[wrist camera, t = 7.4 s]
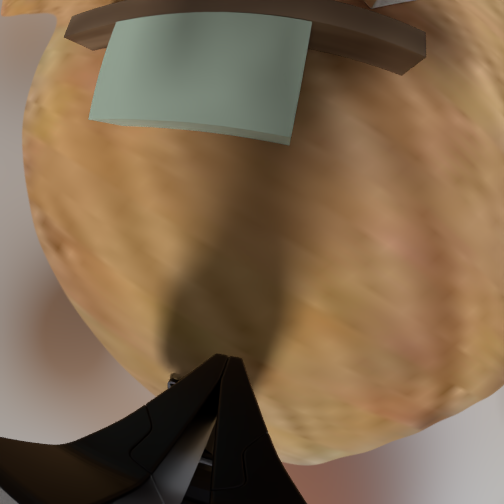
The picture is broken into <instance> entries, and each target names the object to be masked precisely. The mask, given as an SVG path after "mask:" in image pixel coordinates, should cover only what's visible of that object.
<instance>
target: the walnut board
mask: <svg viewBox="0 0 504 504" xmlns="http://www.w3.org/2000/svg"><path fill="white" fill-rule="evenodd" d="M192 12H236V13H253V14H264V15H273V16H281V17H288V18H294V19H300V20H306V21H311V22H312V26H311V32H310V38H309V44H308V49H313V50H317V51H322V52H327V53H331V54H335V55H339V56H343V57H347V58H350V59H354V60H357V61H361V62H364V63H367V64H370V65H374V66H377V67H380V68H382V69H385V70H388V71H391V72H394V73H396V74H399V75H401V76H402V75H403V74H404V73H406V72H407V71H408V70H410V69H411V68H412V67H414V66H415V65H416V64H418V63H419V62H420V61H422V60H423V59H424V58H426V34H425V32H424V31H422V30H420V29H417V28H415V27H413V26H410V25H408V24H406V23H403V22H401V21H398V20H396V19H393V18H390V17H387V16H385V15H382V14H379V13H376V12H373V11H370V10H367V9H363V8H360V7H356V6H353V5H349V4H345V3H341V2H337V1H333V0H125V1H121V2H117V3H113V4H109V5H106V6H102V7H99V8H95V9H92V10H89V11H86V12H83V13H80V14H77V15H75V16H72V18H71V20H70V23H69V25H68V28H67V30H66V33H65V35H64V38H66V39H69V40H71V41H73V42H76V43H78V44H80V45H82V46H84V47H86V48H88V49H91V50H97V49H102V48H107V46H108V43H109V40H110V38H111V35H112V32H113V29H114V27H115V24H116V22H118V21H123V20H129V19H135V18H141V17H148V16H155V15H164V14H176V13H192Z"/></svg>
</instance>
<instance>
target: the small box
mask: <svg viewBox="0 0 504 504" xmlns="http://www.w3.org/2000/svg"><path fill="white" fill-rule="evenodd" d="M408 1H414V0H364V2H365V3H366V4H367V5H368V6H369V7H370V8H372V9H373V8H377V7H382V6H386V5H391V4H396V3H402V2H408Z"/></svg>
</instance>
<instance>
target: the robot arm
mask: <svg viewBox="0 0 504 504" xmlns="http://www.w3.org/2000/svg"><path fill="white" fill-rule="evenodd" d="M0 504H307V503H306V501H305V500H304V498H303V497H302V495H301V494H300V492H299V491H298V489H297V488H296V486H295V484H294V483H293V481H292V480H291V478H290V476H289V475H288V473H287V471H286V470H285V468H284V466H283V464H282V462H281V461H280V459H279V457H278V455H277V452H276V450H275V448H274V446H273V443H272V441H271V438H270V435H269V434H268V430H267V428H266V425H265V422H264V420H263V417H262V414H261V411H260V409H259V406H258V403H257V400H256V397H255V394H254V392H253V389H252V386H251V383H250V380H249V377H248V374H247V371H246V368H245V365H244V363H243V360H242V359H241V358H238V357H233V356H230V357H228V356H227V355H222V354H215V355H213V356H212V357H211V358H209V359H208V360H207V361H205V362H204V363H203V364H201V365H200V366H199V367H197V368H196V369H195V370H193V371H192V372H191V373H189V374H188V375H186V376H185V377H184V378H182V379H181V380H180V381H179V380H175V379H170V380H169V382H168V389H167V390H165V391H164V392H163V393H161V394H160V395H158V396H157V397H155V398H154V399H153V400H151V401H150V402H148V403H147V404H146V405H144V406H142V407H141V408H139V409H138V410H136V411H135V412H133V413H131V414H130V415H128V416H127V417H125V418H123V419H121V420H120V421H118V422H115V423H114V424H112V425H110V426H108V427H106V428H103V429H101V430H99V431H97V432H94V433H92V434H90V435H88V436H85V437H83V438H81V439H78V440H76V441H73V442H70V443H66V444H60V445H48V444H40V443H32V442H25V441H19V440H13V439H8V438H3V437H0Z"/></svg>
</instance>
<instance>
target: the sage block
mask: <svg viewBox="0 0 504 504" xmlns="http://www.w3.org/2000/svg"><path fill="white" fill-rule="evenodd" d="M311 26H312V22H311V21H306V20H300V19H294V18H288V17H281V16H273V15H264V14H253V13H236V12H192V13H176V14H164V15H155V16H148V17H141V18H135V19H129V20H123V21H118V22H116V24H115V27H114V29H113V32H112V35H111V38H110V40H109V43H108V46H107V49H106V52H105V56H104V59H103V62H102V65H101V69H100V72H99V76H98V80H97V84H96V88H95V92H94V96H93V100H92V105H91V110H90V115H89V120H94V121H100V122H105V123H110V124H116V125H121V126H138V127H157V128H171V129H183V130H193V131H202V132H210V133H218V134H226V135H233V136H239V137H246V138H252V139H258V140H263V141H269V142H274V143H279V144H284V145H290V140H291V135H292V130H293V125H294V119H295V114H296V109H297V104H298V99H299V93H300V88H301V82H302V77H303V72H304V66H305V61H306V55H307V50H308V44H309V38H310V32H311Z"/></svg>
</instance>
